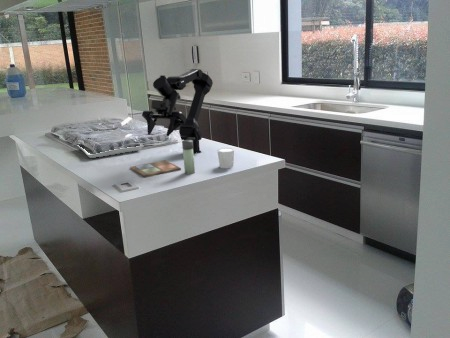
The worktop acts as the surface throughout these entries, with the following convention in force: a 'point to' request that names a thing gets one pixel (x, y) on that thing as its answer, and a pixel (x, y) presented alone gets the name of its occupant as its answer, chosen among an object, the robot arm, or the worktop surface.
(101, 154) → the square plate
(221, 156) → the white cup
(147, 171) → the picture board
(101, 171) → the worktop surface
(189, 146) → the cylinder
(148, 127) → the robot arm
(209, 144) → the worktop surface
